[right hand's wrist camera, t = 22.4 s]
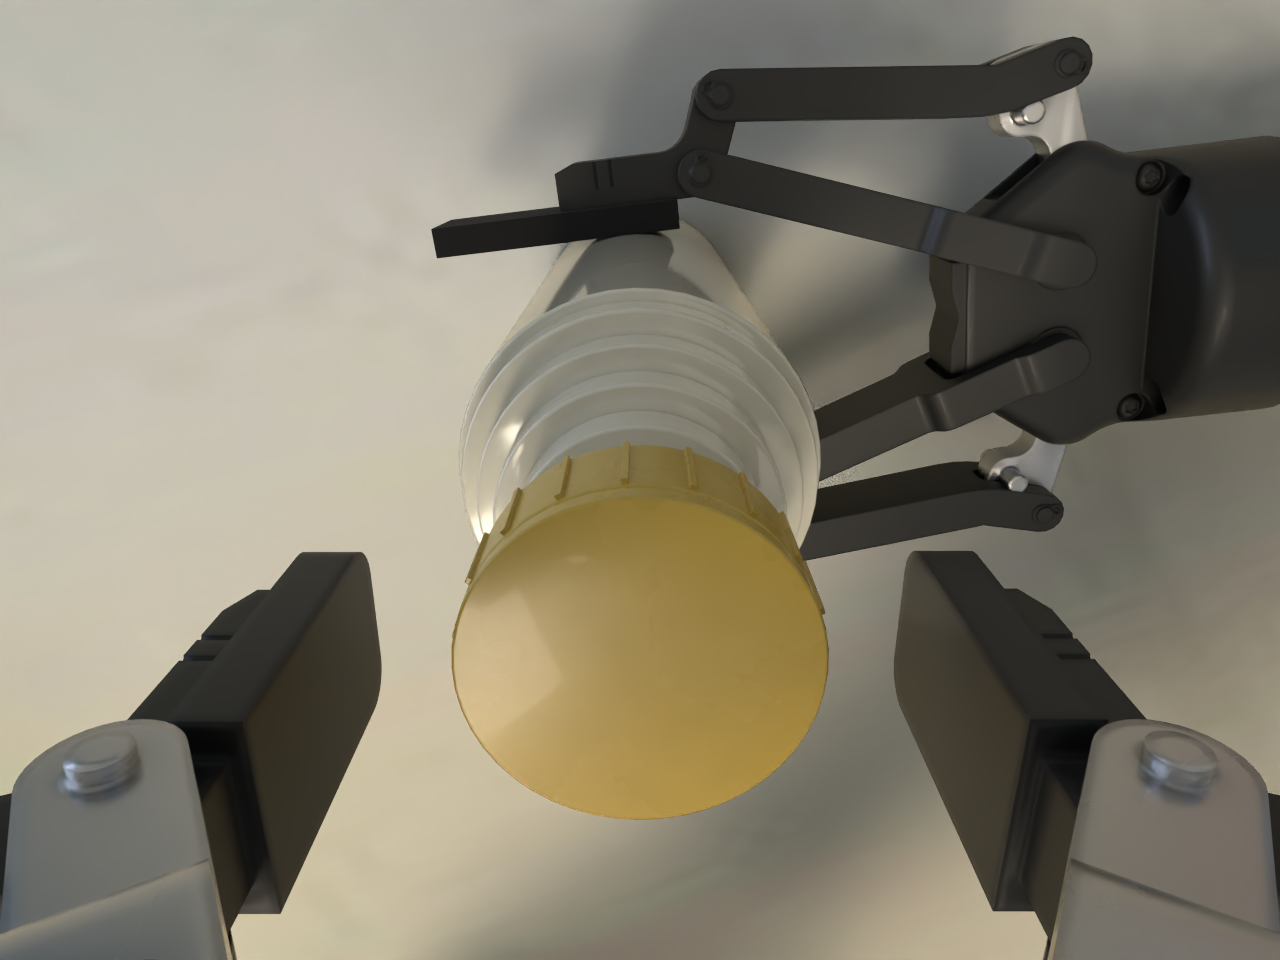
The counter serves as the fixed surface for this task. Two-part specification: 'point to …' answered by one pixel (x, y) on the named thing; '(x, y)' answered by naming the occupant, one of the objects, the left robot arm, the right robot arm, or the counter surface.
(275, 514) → the counter surface
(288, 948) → the counter surface
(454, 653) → the cap
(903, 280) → the counter surface
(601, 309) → the bottle
